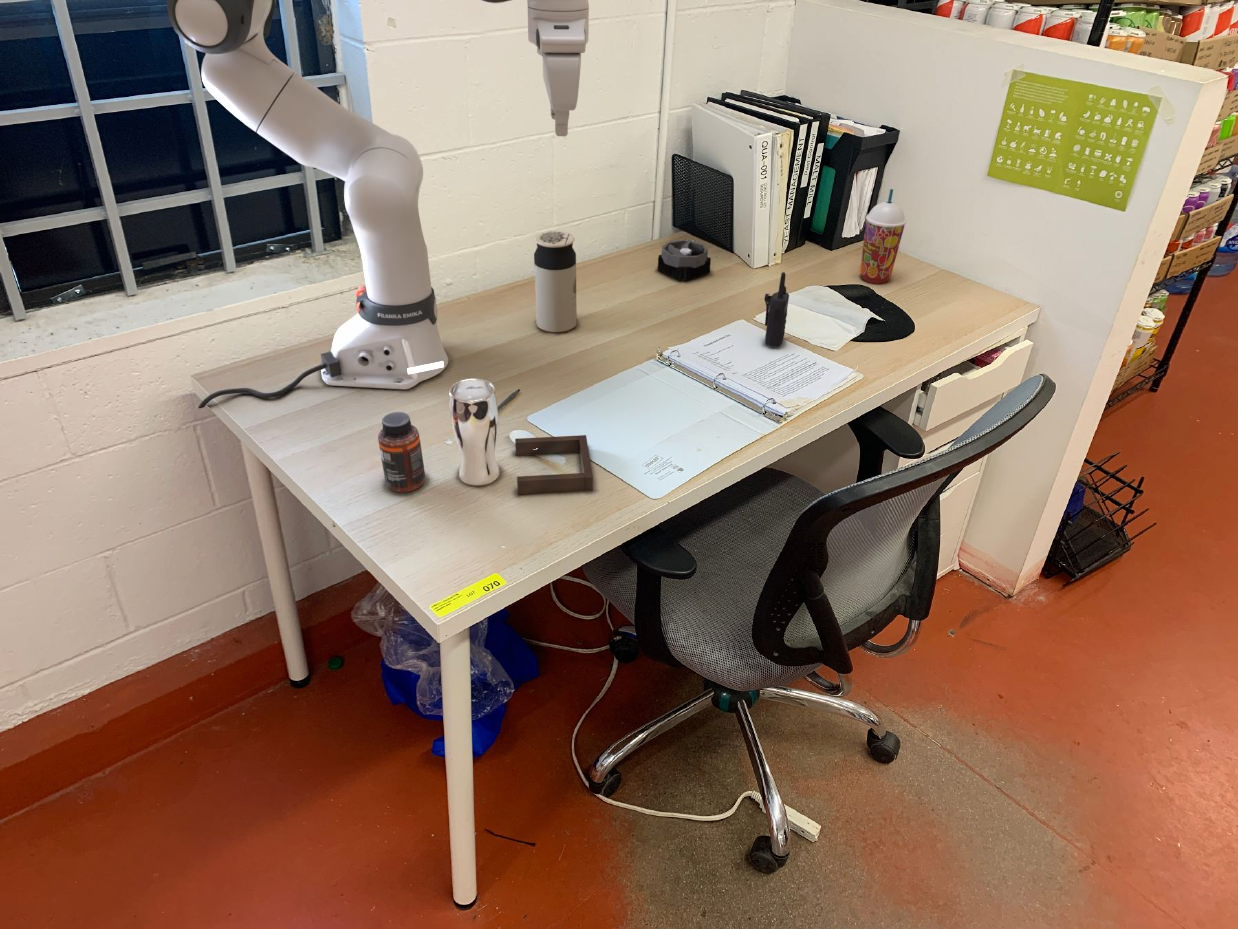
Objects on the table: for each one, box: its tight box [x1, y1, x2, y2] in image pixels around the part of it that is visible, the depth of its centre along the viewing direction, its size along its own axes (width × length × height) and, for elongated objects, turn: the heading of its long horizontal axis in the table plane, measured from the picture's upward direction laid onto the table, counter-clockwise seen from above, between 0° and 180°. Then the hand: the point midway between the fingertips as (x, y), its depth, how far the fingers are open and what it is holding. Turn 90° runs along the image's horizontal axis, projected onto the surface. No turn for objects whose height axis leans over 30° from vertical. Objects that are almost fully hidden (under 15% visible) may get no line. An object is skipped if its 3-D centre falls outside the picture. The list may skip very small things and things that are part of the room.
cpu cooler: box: [657, 238, 712, 282], centre depth 202 cm, size 10×6×10 cm
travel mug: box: [533, 230, 578, 333], centre depth 176 cm, size 8×8×18 cm
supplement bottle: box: [377, 411, 426, 493], centre depth 134 cm, size 6×6×11 cm
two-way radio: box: [764, 271, 790, 348], centre depth 172 cm, size 6×4×15 cm
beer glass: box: [448, 377, 500, 487], centre depth 135 cm, size 7×7×15 cm
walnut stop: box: [514, 434, 594, 495], centre depth 140 cm, size 11×11×2 cm
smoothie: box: [859, 188, 907, 284], centre depth 197 cm, size 8×8×20 cm
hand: (559, 126), depth 141 cm, fingers open, 8 cm apart
